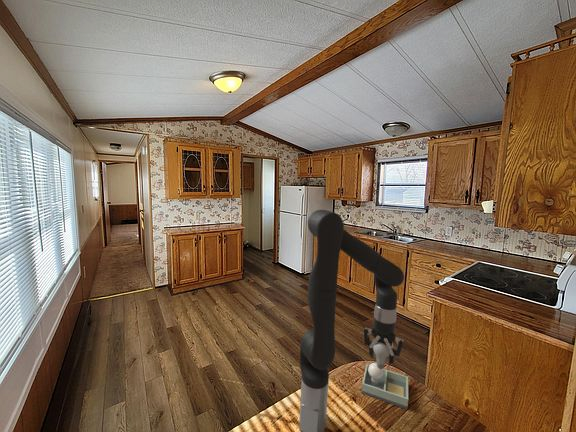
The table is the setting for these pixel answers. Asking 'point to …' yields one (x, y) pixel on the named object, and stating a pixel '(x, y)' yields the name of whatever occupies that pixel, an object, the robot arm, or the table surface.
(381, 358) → the lightbulb
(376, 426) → the table surface
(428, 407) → the table surface
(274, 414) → the table surface
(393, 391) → the tray
